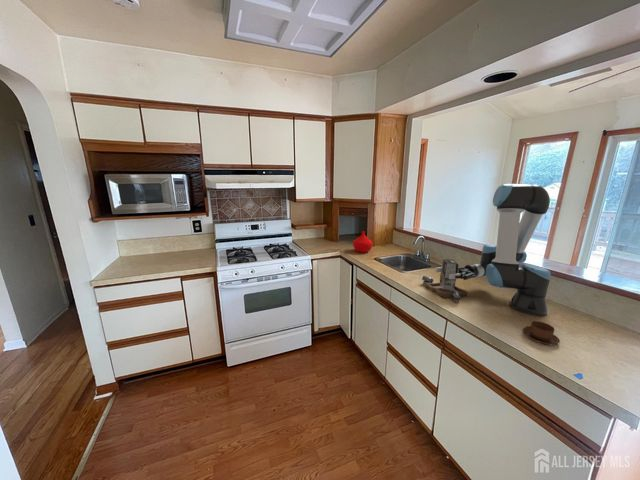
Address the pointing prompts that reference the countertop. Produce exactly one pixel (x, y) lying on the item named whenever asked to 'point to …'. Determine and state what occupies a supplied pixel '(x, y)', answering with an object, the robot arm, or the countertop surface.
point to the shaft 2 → (455, 297)
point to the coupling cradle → (443, 292)
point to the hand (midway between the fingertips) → (442, 273)
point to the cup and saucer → (541, 333)
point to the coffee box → (446, 270)
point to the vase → (362, 243)
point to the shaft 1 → (427, 280)
